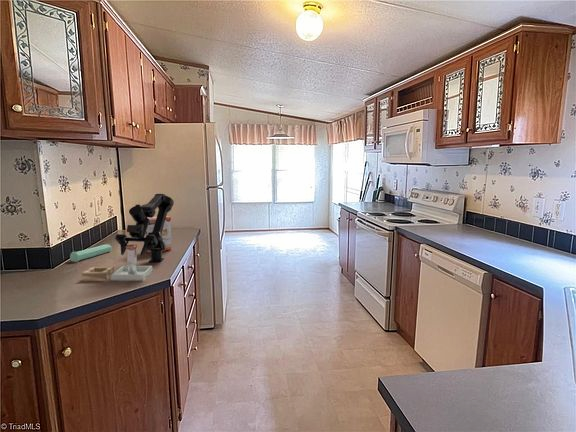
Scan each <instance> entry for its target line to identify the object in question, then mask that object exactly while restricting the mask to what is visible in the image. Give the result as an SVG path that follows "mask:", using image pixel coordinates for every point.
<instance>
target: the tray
mask: <svg viewBox="0 0 576 432" xmlns="http://www.w3.org/2000/svg"><path fill="white" fill-rule="evenodd" d="M151 274H153V265H137V274H128V265H122V266H121V267H119V268H118V269H117V270H115V271H114V273H113V274H111V277H110V282H144V281H145V280H146V279H147V278H148V277H149V276H150V275H151Z"/></svg>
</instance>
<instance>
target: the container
mask: <svg viewBox="0 0 576 432" xmlns="http://www.w3.org/2000/svg"><path fill="white" fill-rule="evenodd" d="M112 249H113V248H112V246H111V244H109V243H108V244H102V245H98V246H93V247H91V248H86V249H83V250H79V251H72V252H70V254H69V259H70V260H71V262H73V263H78V262H79V261H84V260H88V259H90V258H93V257H96V256H100V255H104V254H107V253H109V252H111V251H112Z"/></svg>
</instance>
